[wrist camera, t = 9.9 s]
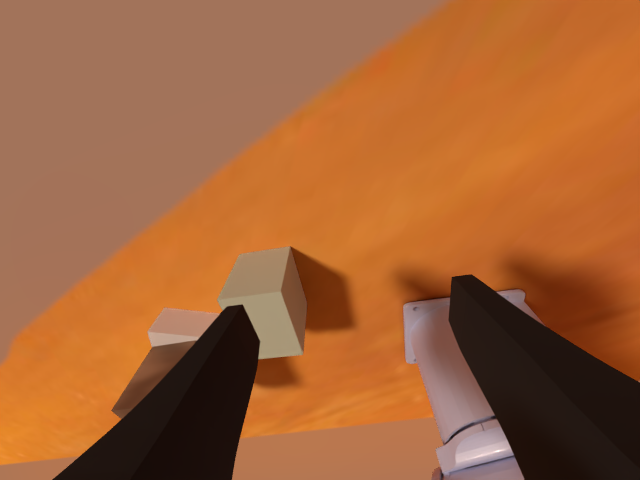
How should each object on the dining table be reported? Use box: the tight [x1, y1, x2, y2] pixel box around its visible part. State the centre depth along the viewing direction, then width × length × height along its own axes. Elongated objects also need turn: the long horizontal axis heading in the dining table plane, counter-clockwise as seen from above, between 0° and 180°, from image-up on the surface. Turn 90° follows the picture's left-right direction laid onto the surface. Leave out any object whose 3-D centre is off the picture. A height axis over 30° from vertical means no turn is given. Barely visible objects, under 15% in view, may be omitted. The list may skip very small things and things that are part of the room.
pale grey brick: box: [147, 308, 219, 347], centre depth 25 cm, size 6×8×3 cm
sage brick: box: [217, 246, 307, 359], centre depth 20 cm, size 4×6×5 cm, turn 11°
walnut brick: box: [111, 340, 196, 419], centre depth 21 cm, size 4×6×5 cm, turn 13°
